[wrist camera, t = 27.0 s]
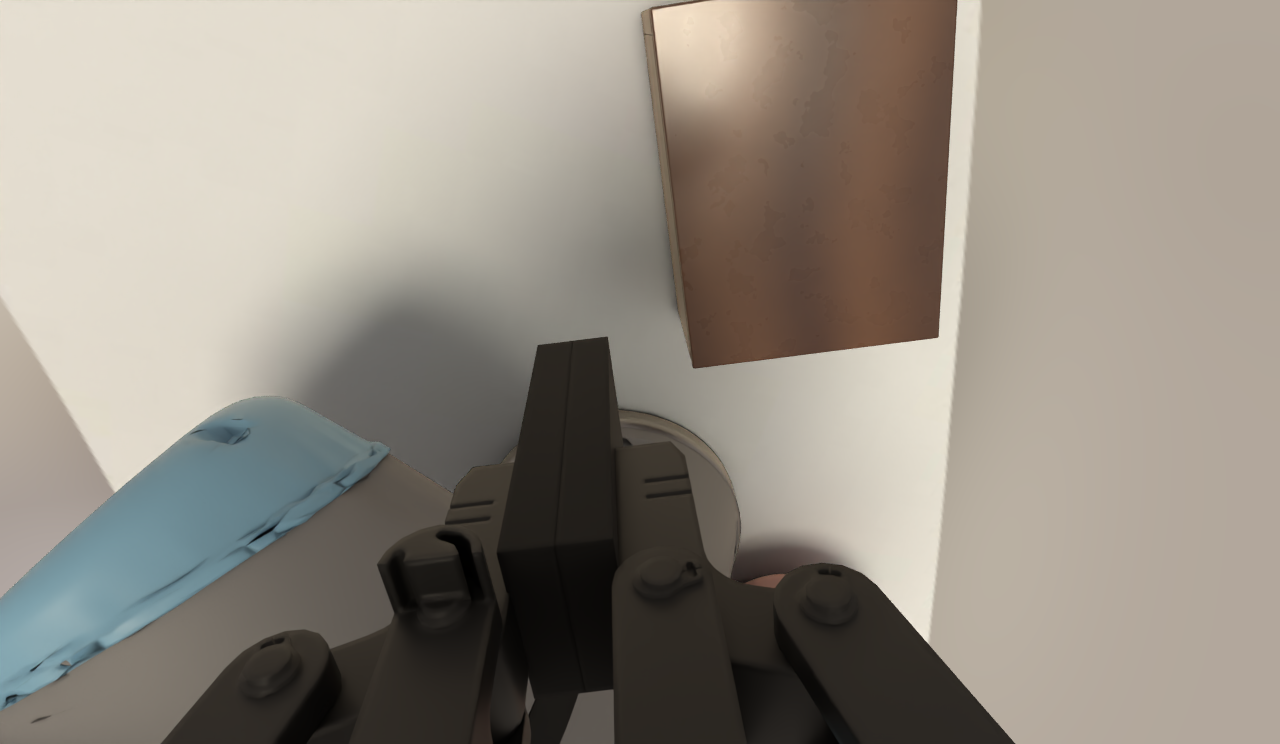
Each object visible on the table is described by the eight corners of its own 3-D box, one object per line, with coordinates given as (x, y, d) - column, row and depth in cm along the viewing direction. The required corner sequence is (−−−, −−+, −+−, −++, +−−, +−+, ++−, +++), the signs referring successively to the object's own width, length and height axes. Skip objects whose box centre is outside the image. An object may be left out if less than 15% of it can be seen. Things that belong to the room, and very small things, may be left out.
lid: (950, -40, 24) (960, -42, 24) (931, 330, 31) (939, 338, 30) (649, 8, 25) (649, 7, 24) (691, 360, 31) (692, 369, 31)
